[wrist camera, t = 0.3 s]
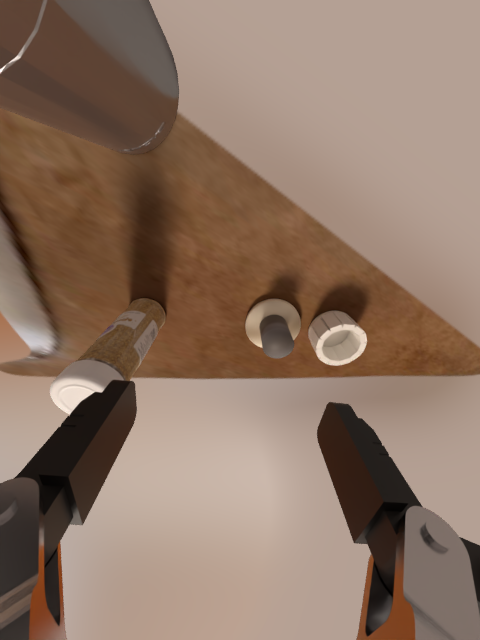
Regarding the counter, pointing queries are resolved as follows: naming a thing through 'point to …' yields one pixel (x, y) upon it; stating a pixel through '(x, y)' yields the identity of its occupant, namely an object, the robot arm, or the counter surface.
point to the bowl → (336, 338)
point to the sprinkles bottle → (110, 355)
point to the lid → (273, 326)
